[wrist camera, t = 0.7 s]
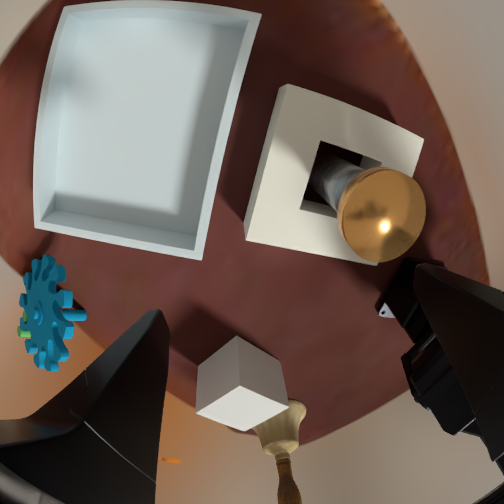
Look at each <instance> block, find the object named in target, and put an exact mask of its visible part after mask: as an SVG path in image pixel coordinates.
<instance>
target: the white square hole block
mask: <svg viewBox="0 0 504 504" xmlns="http://www.w3.org/2000/svg"><path fill="white" fill-rule="evenodd" d="M320 140H321V141H324V142H327V143H330V144H333V145H336V146H339V147H342V148H345V149H348V150H351V151H353V152H356V153H359V154H362V155H363V156H362V160H361V163H360V166H359V167H360V168H362V169H364V170H368V169H370V168H374V167H389V168H392V169H395V170H397V171H400V172H402V173H404V174H406V175H408V176H410V177H411V178H412V176H413V173H414V170H415V167H416V164H417V161H418V158H419V154H420V151H421V148H422V145H423V141H424V139H423V138H421V137H419V136H417V135H415V134H413V133H411V132H409V131H407V130H405V129H403V128H401V127H399V126H397V125H395V124H393V123H391V122H389V121H387V120H384V119H382V118H380V117H378V116H376V115H373V114H371V113H369V112H366V111H364V110H362V109H359V108H357V107H354V106H352V105H349V104H347V103H344V102H341V101H339V100H336V99H333V98H331V97H328V96H325V95H322V94H319V93H316V92H313V91H310V90H307V89H304V88H301V87H298V86H294V85H291V84H286V85H284V86H282V87H280V88H279V90H278V93H277V97H276V101H275V104H274V108H273V112H272V115H271V119H270V123H269V127H268V130H267V134H266V138H265V142H264V145H263V149H262V153H261V157H260V161H259V164H258V168H257V172H256V176H255V180H254V184H253V187H252V191H251V195H250V199H249V203H248V207H247V211H246V215H245V219H244V230H245V238H246V240H247V241H252V242H257V243H263V244H268V245H273V246H278V247H283V248H288V249H293V250H299V251H304V252H309V253H314V254H319V255H324V256H329V257H334V258H339V259H344V260H349V261H354V262H359V263H364V264H369V265H374V266H377V264H378V262H370V261H367V260H365V259H362V258H361V257H359V256H358V255H357V254H356V253H355V252H354V251H353V250H352V249H351V247H350V246H349V245H348V244H347V242H346V241H345V240H344V239H343V237H342V235H341V233H340V231H339V227H338V222H337V212H336V211H335V210H334V209H333V208H332V207H331V206H328V205H325V204H321V203H317V202H313V201H309V200H305V199H303V196H304V193H305V190H306V186H307V183H308V180H309V177H310V173H311V170H312V167H313V163H314V160H315V157H316V153H317V150H318V147H319V143H320Z"/></svg>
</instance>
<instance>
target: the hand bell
mask: <svg viewBox="0 0 504 504" xmlns="http://www.w3.org/2000/svg"><path fill="white" fill-rule="evenodd" d="M288 403H289V408H287V409H285V410H284V411H282V412H280V413H278V414H277V415H275V416H273V417H271V418H269V419H267V420H266V421H264V422H262V423H260V424H258V425H256V426H254V427H252V428H251V429H253V430H254V431H255V432H256V433H257V435H258V437H259V439H260V442H261V445H262V448H263V451H264V452H265V453H267V454H269V455H274V456H275V458H276V461H277V462H276V464H277V469H278V473H279V487H278V504H302V501H301V495H300V492H299V489H298V487H297V485H296V484H295V482H294V480H293V477H292V470H291V464H290V463H291V461H290V456H289V454H290V453H291V452H292V451H294V450H295V449H296V448H297V447H298V445H299V442H298V429H299V424H300V422H301V421H302V420H303V418H304V417H305V414H306V407H305V406H304V404H302V403H301V402H298V401H296V400H289V399H288Z"/></svg>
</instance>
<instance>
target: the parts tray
mask: <svg viewBox="0 0 504 504" xmlns="http://www.w3.org/2000/svg"><path fill="white" fill-rule="evenodd" d="M261 15H262V14H259V13H255V12H250V11H245V10H240V9H235V8H229V7H223V6H217V5H210V4H202V3H193V2H181V1H164V0H122V1H105V2H94V3H85V4H78V5H71V6H65V7H64V8H63V11H62V14H61V17H60V20H59V23H58V26H57V29H56V32H55V35H54V39H53V42H52V46H51V49H50V53H49V57H48V61H47V65H46V70H45V74H44V79H43V84H42V90H41V96H40V102H39V108H38V116H37V124H36V134H35V146H34V166H33V204H34V224H35V228H39V229H43V230H48V231H53V232H58V233H62V234H67V235H72V236H77V237H82V238H87V239H92V240H97V241H102V242H107V243H112V244H117V245H122V246H127V247H132V248H138V249H143V250H148V251H153V252H159V253H164V254H169V255H175V256H180V257H185V258H191V259H196V260H202V256H203V251H204V246H205V241H206V235H207V230H208V225H209V220H210V215H211V211H212V206H213V201H214V196H215V192H216V187H217V182H218V178H219V173H220V169H221V165H222V160H223V156H224V152H225V147H226V143H227V139H228V135H229V131H230V127H231V123H232V119H233V115H234V111H235V107H236V103H237V99H238V95H239V92H240V88H241V84H242V80H243V77H244V73H245V69H246V66H247V62H248V59H249V55H250V52H251V48H252V45H253V42H254V38H255V35H256V31H257V28H258V25H259V22H260V18H261Z"/></svg>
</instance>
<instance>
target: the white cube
mask: <svg viewBox="0 0 504 504" xmlns="http://www.w3.org/2000/svg"><path fill="white" fill-rule="evenodd" d="M287 408H289V403H288V398H287V393H286V388H285V383H284V378H283V373H282V368H281V363H280V361H279V360H277V359H276V358H274V357H272V356H270V355H269V354H267V353H265V352H264V351H262V350H260V349H258V348H257V347H255V346H253V345H252V344H250V343H248V342H247V341H245V340H243V339H242V338H240V337H238V336H237V335H236V336H235V337H234V338H233V339H232V340H230V341H229V342H228V343H227V344H225V345H224V346H223V347H222V348H220V349H219V350H218V351H217V352H215V353H214V354H213V355H212V356H210V357H209V358H208V359H206V360H205V361H204V362H203V363H201V364H200V365H199V366H198V377H197V394H196V414H199V415H201V416H204V417H207V418H209V419H211V420H214V421H217V422H219V423H222V424H225V425H228V426H230V427H233V428H236V429H239V430H242V431H246V430H248V429H250V428H252V427H254V426H256V425H258V424H260V423H262V422H264V421H266V420H267V419H269V418H271V417H273V416H275V415H277V414H278V413H280V412H282V411H284V410H285V409H287Z"/></svg>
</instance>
